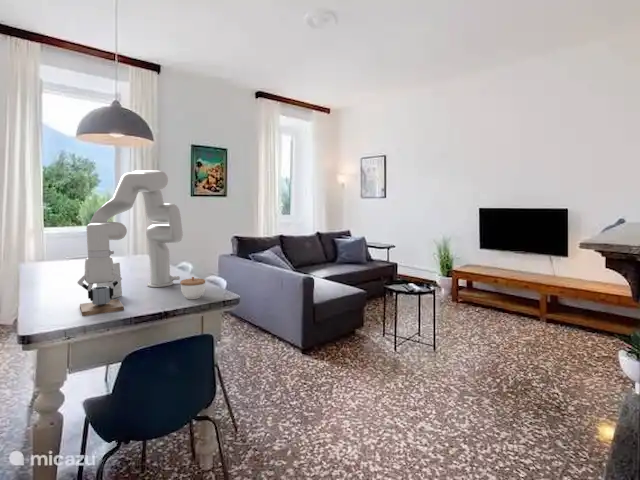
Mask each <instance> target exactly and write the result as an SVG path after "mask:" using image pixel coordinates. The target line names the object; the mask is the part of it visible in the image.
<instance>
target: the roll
mask: <svg viewBox="0 0 640 480" xmlns="http://www.w3.org/2000/svg"><path fill="white" fill-rule="evenodd" d="M91 289H92V291H93V301H91V302H92V303H93V304H96V305H100V304H106V303H109V302H110V300H111V299H110V290H109V289H110V287H109V286H100V287H97V286H95V287H92V288H91Z"/></svg>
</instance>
